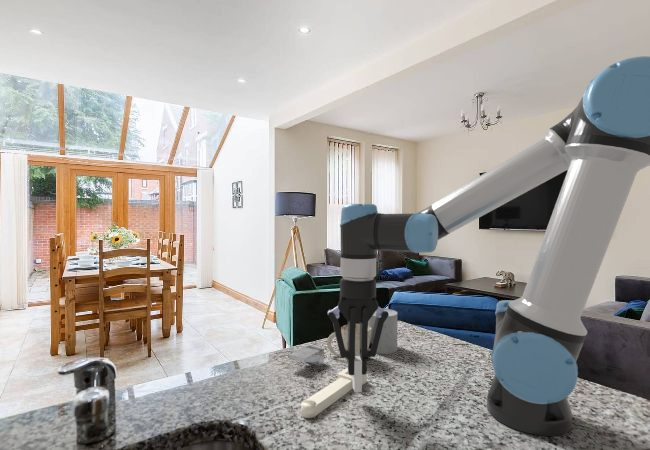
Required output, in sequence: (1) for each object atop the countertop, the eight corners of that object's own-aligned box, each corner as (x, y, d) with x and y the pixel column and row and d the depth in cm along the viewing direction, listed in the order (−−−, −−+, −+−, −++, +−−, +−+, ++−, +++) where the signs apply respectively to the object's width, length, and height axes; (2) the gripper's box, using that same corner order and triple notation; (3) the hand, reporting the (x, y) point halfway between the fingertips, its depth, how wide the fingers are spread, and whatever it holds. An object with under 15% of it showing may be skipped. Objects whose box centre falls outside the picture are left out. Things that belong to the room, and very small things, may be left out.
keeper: (323, 368, 98) (323, 348, 98) (304, 380, 91) (303, 358, 91) (309, 364, 101) (309, 345, 101) (288, 375, 94) (288, 354, 94)
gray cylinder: (400, 359, 104) (400, 316, 104) (367, 359, 104) (366, 316, 104) (394, 347, 114) (394, 308, 114) (363, 347, 114) (363, 308, 114)
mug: (370, 371, 96) (370, 333, 96) (323, 367, 99) (323, 330, 99) (372, 359, 104) (372, 324, 104) (329, 356, 107) (329, 322, 107)
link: (348, 376, 89) (348, 366, 89) (366, 382, 86) (366, 371, 86) (294, 413, 73) (294, 401, 73) (314, 421, 70) (314, 408, 70)
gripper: (384, 274, 81) (383, 380, 81) (325, 274, 80) (324, 382, 80) (393, 280, 73) (392, 397, 74) (328, 281, 72) (327, 399, 73)
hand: (357, 389), depth 77 cm, fingers closed
